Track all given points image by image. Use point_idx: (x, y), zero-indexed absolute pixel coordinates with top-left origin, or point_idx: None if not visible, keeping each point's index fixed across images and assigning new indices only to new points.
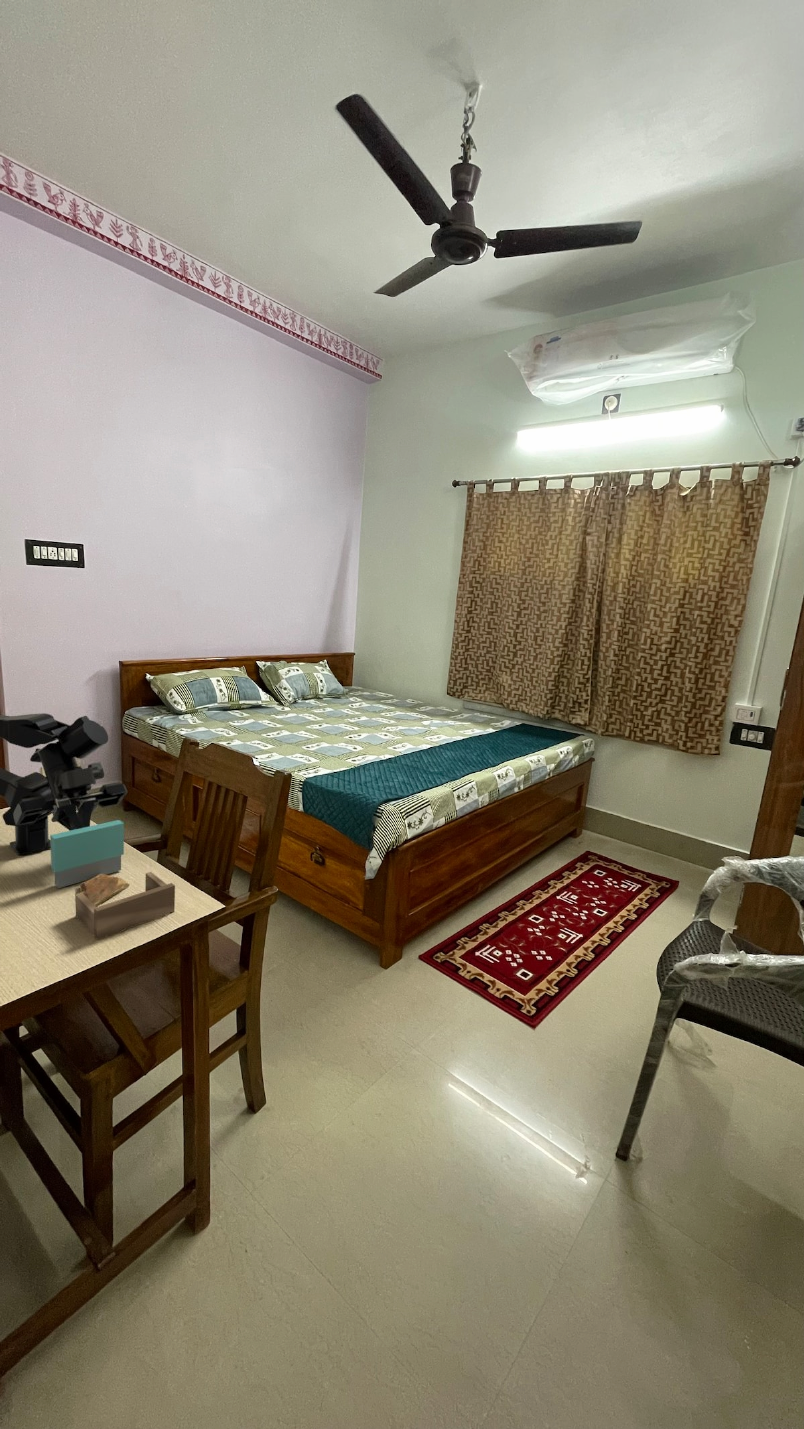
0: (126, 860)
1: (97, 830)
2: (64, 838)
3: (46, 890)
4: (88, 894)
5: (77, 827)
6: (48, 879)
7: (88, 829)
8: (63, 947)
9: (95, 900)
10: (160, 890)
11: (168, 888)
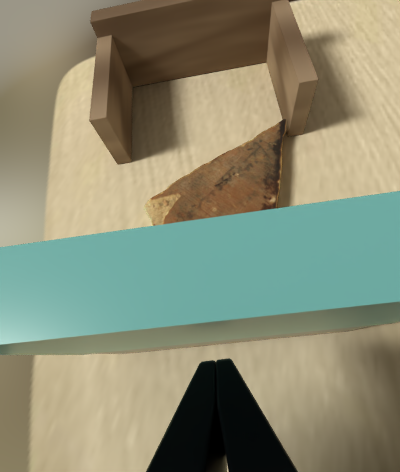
0: (72, 401)
1: (151, 231)
2: None
3: None
4: (261, 180)
5: (281, 458)
6: (366, 400)
7: (213, 249)
8: (338, 49)
9: (251, 149)
10: (129, 3)
11: (109, 10)
